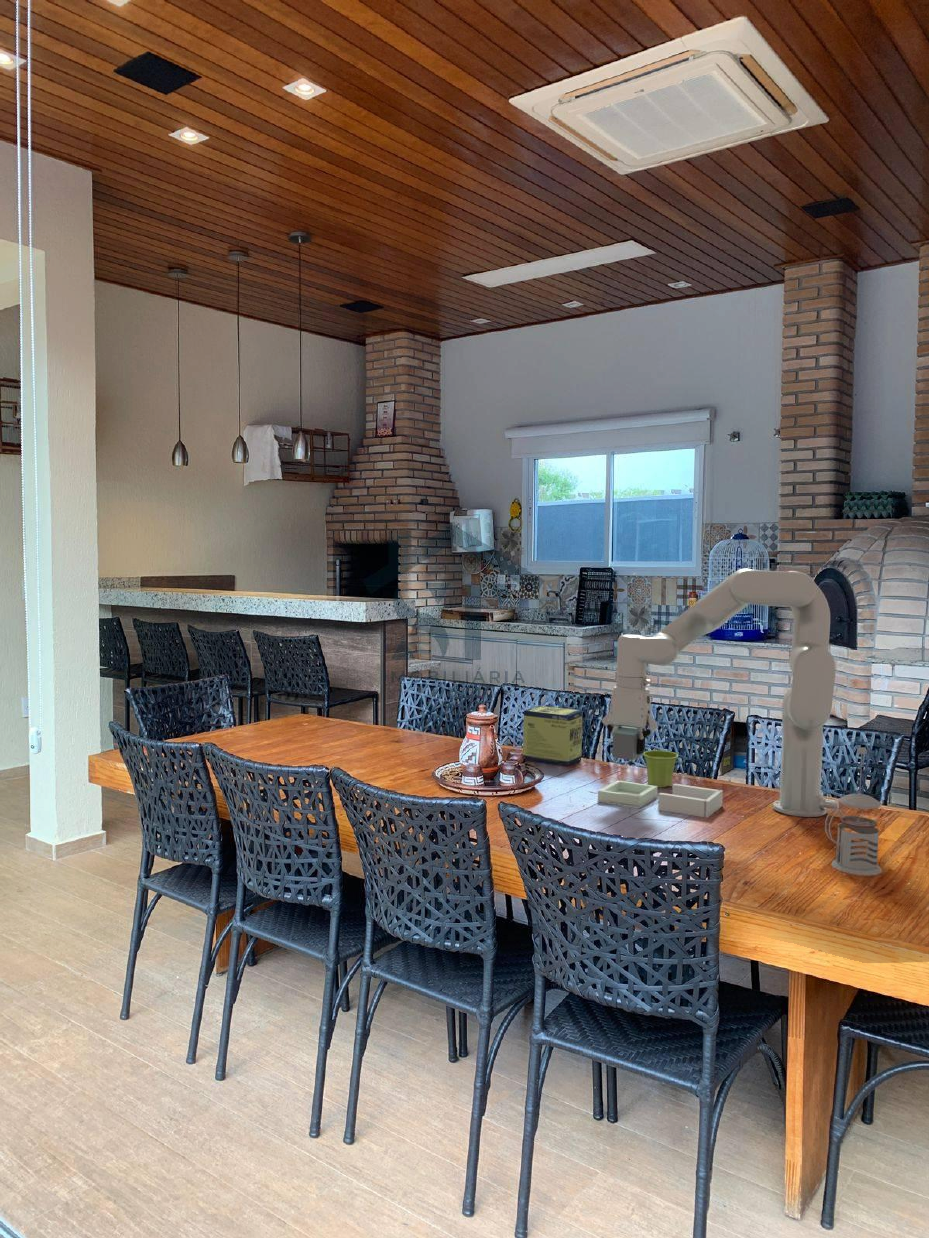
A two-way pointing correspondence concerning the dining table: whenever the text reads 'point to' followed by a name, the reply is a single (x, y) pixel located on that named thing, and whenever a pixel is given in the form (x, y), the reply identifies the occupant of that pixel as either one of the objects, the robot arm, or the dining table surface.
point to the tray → (627, 794)
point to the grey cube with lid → (625, 743)
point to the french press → (857, 835)
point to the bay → (691, 800)
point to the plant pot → (660, 767)
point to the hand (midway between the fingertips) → (628, 751)
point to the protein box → (552, 735)
